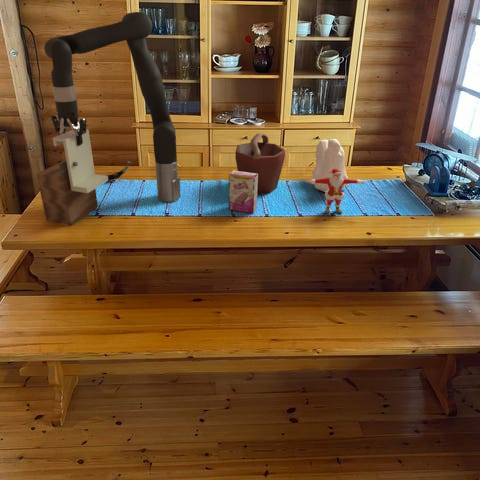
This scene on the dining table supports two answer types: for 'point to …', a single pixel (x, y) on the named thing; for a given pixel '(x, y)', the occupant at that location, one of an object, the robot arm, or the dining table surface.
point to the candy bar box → (243, 191)
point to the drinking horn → (118, 173)
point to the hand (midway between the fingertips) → (72, 143)
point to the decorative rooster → (328, 162)
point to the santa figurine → (335, 188)
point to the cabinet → (63, 196)
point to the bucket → (261, 162)
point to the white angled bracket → (80, 162)
